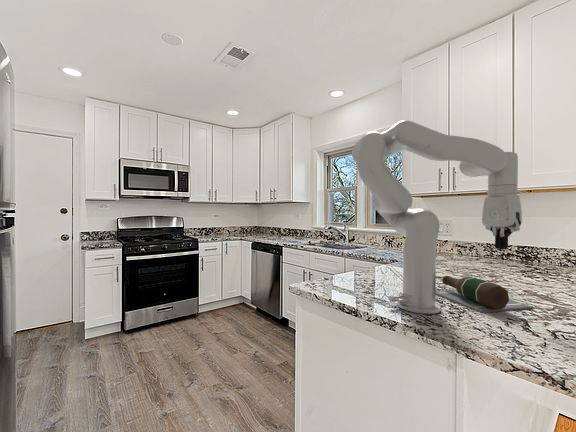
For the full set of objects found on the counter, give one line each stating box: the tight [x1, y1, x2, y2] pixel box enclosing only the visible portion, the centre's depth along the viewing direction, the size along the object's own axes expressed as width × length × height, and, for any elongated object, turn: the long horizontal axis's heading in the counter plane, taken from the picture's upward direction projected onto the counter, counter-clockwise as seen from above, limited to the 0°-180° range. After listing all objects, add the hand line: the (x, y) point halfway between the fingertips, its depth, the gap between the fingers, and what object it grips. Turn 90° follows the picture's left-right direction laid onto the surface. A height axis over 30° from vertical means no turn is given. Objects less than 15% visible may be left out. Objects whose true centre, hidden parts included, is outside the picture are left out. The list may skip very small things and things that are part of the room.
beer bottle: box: [441, 275, 510, 310], centre depth 98 cm, size 8×8×24 cm
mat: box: [435, 289, 534, 314], centre depth 99 cm, size 20×22×1 cm
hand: (501, 248), depth 90 cm, fingers closed
